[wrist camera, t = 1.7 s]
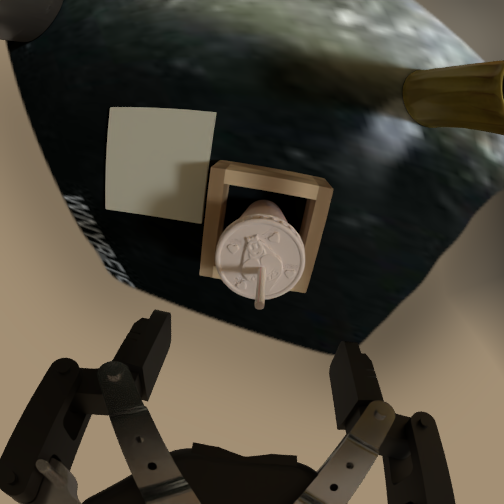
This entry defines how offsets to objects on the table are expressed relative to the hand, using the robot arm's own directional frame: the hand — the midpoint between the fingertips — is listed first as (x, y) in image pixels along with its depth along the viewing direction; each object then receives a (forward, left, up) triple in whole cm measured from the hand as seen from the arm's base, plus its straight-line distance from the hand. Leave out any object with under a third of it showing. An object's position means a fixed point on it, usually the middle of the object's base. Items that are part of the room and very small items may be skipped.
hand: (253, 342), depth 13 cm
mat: (-12, +4, -18) cm, 22 cm away
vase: (+14, +16, -18) cm, 28 cm away
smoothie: (0, 0, -18) cm, 18 cm away
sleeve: (0, 0, -18) cm, 18 cm away
